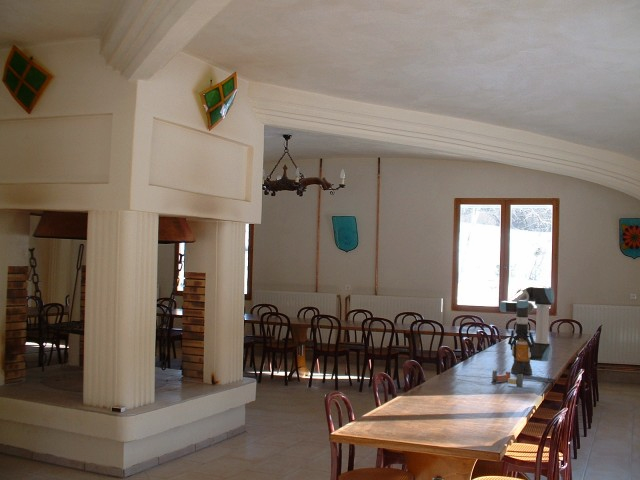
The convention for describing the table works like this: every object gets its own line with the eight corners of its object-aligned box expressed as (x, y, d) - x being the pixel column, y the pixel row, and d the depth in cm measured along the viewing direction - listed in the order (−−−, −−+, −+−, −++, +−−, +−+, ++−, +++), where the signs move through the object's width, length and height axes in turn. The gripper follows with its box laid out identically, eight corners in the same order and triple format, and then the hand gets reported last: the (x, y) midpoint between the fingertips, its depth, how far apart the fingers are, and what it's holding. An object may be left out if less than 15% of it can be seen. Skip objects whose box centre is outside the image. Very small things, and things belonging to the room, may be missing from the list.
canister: (530, 365, 465) (530, 335, 465) (512, 364, 467) (513, 334, 467) (528, 363, 474) (529, 333, 474) (511, 362, 476) (512, 332, 476)
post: (492, 381, 473) (493, 370, 473) (498, 382, 471) (498, 370, 471) (490, 382, 470) (490, 370, 470) (495, 383, 468) (496, 371, 468)
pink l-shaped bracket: (495, 381, 473) (495, 372, 473) (507, 380, 481) (507, 371, 481) (498, 382, 471) (498, 373, 471) (510, 380, 479) (510, 371, 479)
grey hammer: (510, 384, 465) (510, 372, 465) (522, 386, 460) (522, 374, 460) (507, 385, 462) (508, 373, 462) (520, 387, 457) (520, 374, 457)
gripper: (503, 322, 475) (502, 354, 474) (536, 325, 461) (536, 358, 460) (507, 321, 481) (506, 353, 480) (541, 324, 467) (540, 357, 466)
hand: (521, 356), depth 470 cm, fingers closed on canister, 11 cm apart
